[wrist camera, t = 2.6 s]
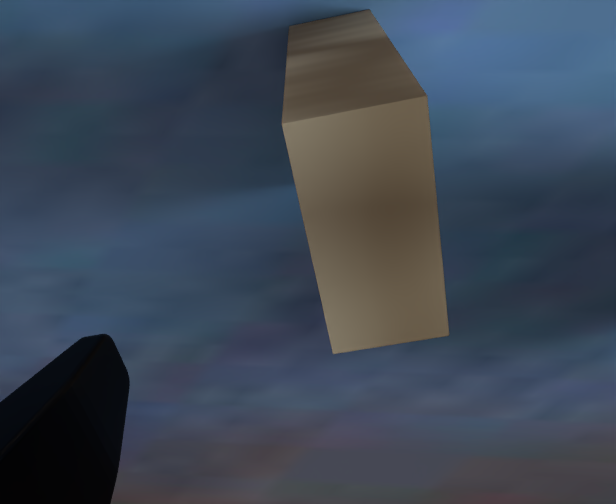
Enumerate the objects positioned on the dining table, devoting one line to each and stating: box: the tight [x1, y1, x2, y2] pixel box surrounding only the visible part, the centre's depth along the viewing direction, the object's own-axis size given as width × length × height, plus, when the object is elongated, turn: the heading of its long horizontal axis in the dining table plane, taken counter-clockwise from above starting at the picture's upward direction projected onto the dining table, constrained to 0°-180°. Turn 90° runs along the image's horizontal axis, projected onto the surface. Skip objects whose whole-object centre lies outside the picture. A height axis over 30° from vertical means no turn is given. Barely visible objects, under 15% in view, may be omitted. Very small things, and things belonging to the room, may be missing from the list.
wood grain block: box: [282, 10, 449, 354], centre depth 15 cm, size 2×5×9 cm, turn 11°
